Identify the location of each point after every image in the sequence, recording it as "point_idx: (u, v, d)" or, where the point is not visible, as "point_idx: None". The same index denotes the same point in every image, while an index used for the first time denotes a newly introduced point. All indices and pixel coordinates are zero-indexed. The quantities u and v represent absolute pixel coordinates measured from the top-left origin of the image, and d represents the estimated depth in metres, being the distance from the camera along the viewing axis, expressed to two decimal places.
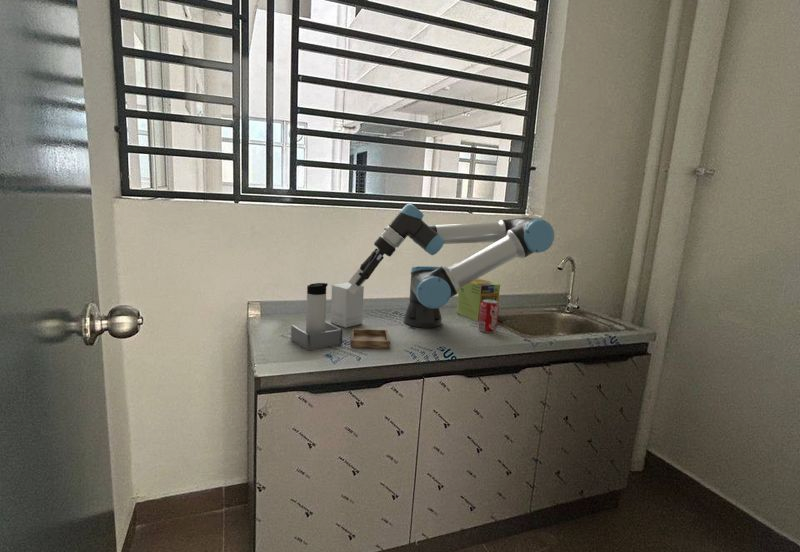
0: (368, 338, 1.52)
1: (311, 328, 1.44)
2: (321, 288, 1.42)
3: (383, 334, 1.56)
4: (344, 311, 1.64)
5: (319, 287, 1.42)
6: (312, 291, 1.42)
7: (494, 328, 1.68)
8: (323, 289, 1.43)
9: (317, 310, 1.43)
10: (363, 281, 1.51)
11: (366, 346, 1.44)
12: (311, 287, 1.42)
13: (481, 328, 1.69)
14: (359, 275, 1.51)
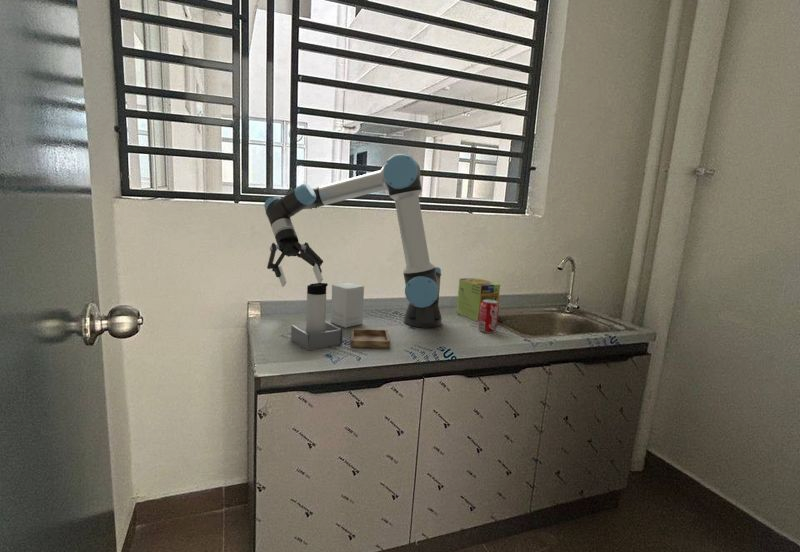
0: (368, 338, 1.52)
1: (311, 328, 1.44)
2: (321, 288, 1.42)
3: (383, 334, 1.56)
4: (344, 311, 1.64)
5: (319, 287, 1.42)
6: (312, 291, 1.42)
7: (494, 328, 1.68)
8: (323, 289, 1.43)
9: (318, 310, 1.43)
10: (279, 268, 1.48)
11: (366, 346, 1.44)
12: (311, 287, 1.42)
13: (481, 328, 1.69)
14: None
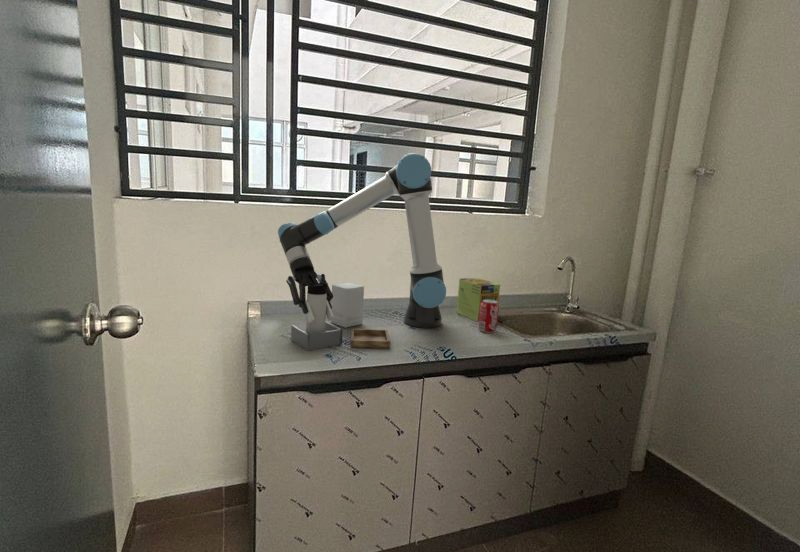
0: (368, 338, 1.52)
1: (311, 328, 1.44)
2: (321, 288, 1.42)
3: (383, 334, 1.56)
4: (344, 311, 1.64)
5: (319, 287, 1.42)
6: (312, 291, 1.42)
7: (494, 328, 1.68)
8: (323, 289, 1.43)
9: (318, 310, 1.43)
10: (306, 304, 1.43)
11: (366, 346, 1.44)
12: (311, 287, 1.42)
13: (481, 328, 1.69)
14: None
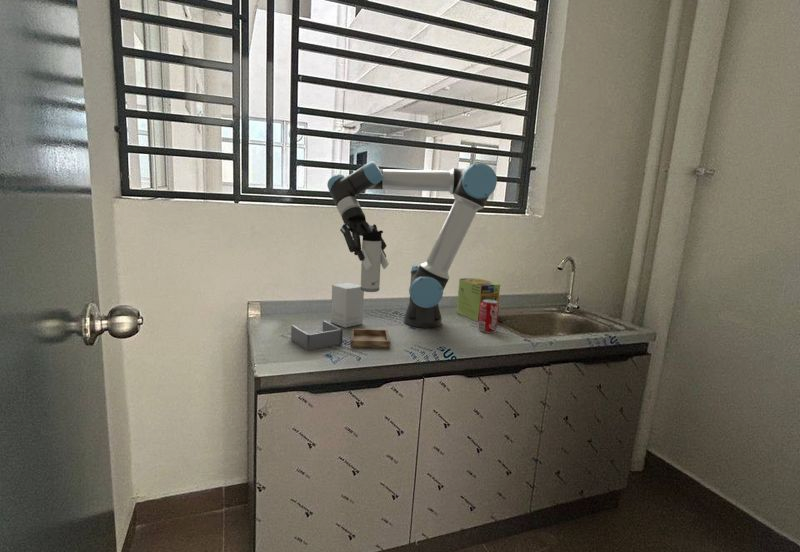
0: (368, 338, 1.52)
1: (367, 276, 1.44)
2: (377, 234, 1.42)
3: (383, 334, 1.56)
4: (344, 311, 1.64)
5: (375, 233, 1.41)
6: (368, 237, 1.41)
7: (494, 328, 1.68)
8: (379, 236, 1.43)
9: (374, 257, 1.43)
10: (362, 252, 1.42)
11: (366, 346, 1.44)
12: (367, 233, 1.41)
13: (481, 328, 1.69)
14: None
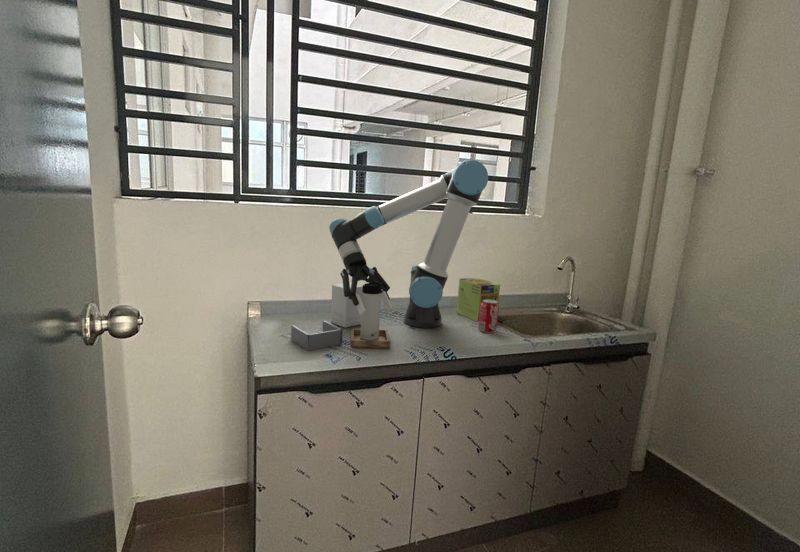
0: None
1: (367, 327, 1.47)
2: (377, 288, 1.45)
3: (383, 334, 1.56)
4: (344, 311, 1.64)
5: (375, 287, 1.44)
6: (368, 290, 1.44)
7: (494, 328, 1.68)
8: (378, 289, 1.46)
9: (373, 309, 1.46)
10: (357, 296, 1.44)
11: (366, 346, 1.44)
12: (367, 287, 1.44)
13: (481, 328, 1.69)
14: None
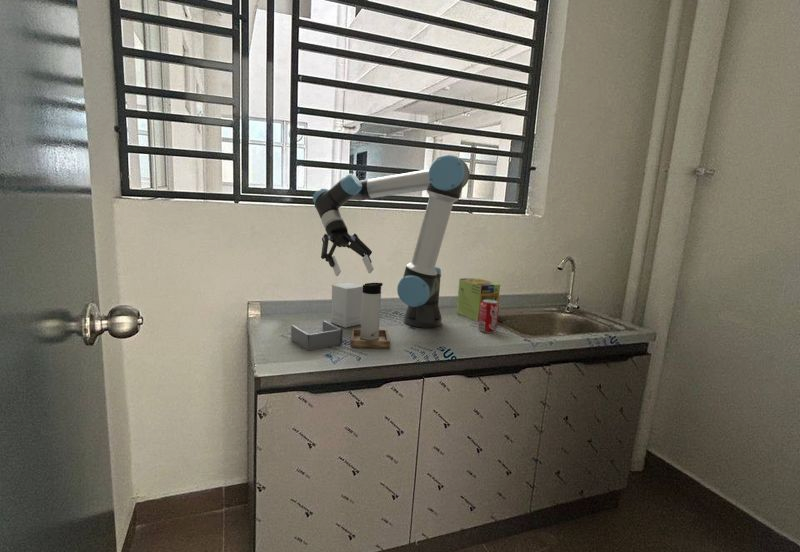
0: None
1: (367, 327, 1.47)
2: (377, 287, 1.45)
3: (383, 334, 1.56)
4: (344, 311, 1.64)
5: (375, 286, 1.45)
6: (368, 290, 1.45)
7: (494, 328, 1.68)
8: (379, 288, 1.46)
9: (373, 309, 1.46)
10: (333, 258, 1.52)
11: (366, 346, 1.44)
12: (367, 286, 1.45)
13: (481, 328, 1.69)
14: None
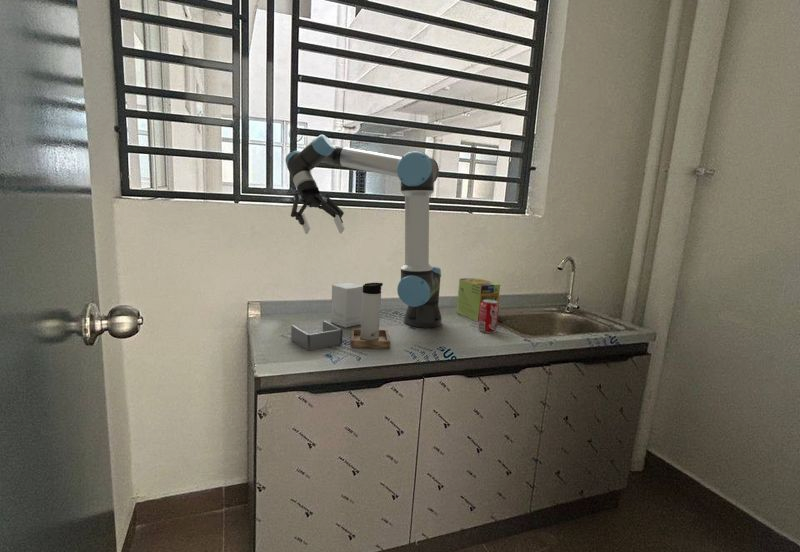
0: None
1: (367, 327, 1.47)
2: (377, 287, 1.45)
3: (383, 334, 1.56)
4: (344, 311, 1.64)
5: (375, 286, 1.45)
6: (368, 290, 1.45)
7: (494, 328, 1.68)
8: (379, 288, 1.46)
9: (373, 309, 1.46)
10: (302, 216, 1.52)
11: (366, 346, 1.44)
12: (367, 286, 1.45)
13: (481, 328, 1.69)
14: None
